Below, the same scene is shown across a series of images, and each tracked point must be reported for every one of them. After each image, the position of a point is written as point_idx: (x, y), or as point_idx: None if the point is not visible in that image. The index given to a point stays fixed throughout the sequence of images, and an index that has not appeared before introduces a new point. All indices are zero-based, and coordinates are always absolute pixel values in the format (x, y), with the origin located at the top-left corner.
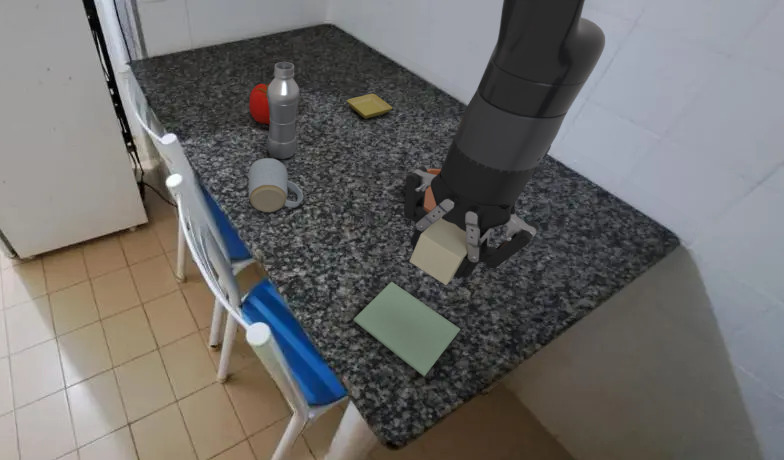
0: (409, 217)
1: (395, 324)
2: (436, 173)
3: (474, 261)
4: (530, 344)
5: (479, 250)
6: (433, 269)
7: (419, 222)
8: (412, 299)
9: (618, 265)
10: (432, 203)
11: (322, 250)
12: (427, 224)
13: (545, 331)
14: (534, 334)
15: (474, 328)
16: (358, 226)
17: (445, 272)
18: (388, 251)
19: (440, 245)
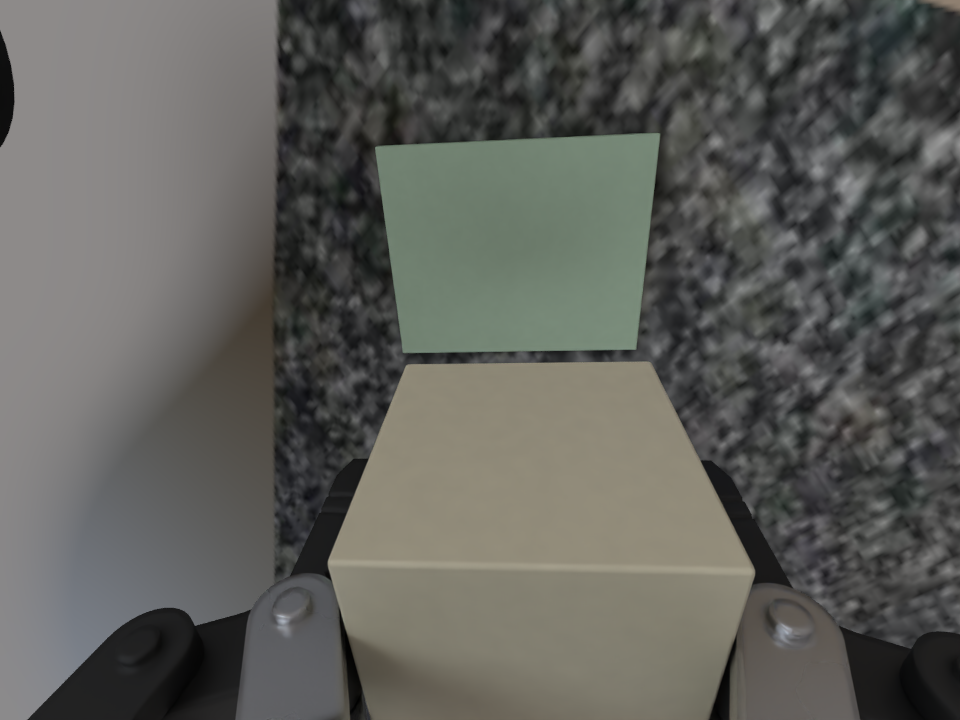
0: (943, 659)
1: (540, 227)
2: None
3: (282, 587)
4: (280, 431)
5: (236, 717)
6: (502, 392)
7: (832, 664)
8: (551, 340)
9: None
10: None
11: (907, 289)
12: (766, 695)
13: (283, 480)
14: (291, 459)
15: (384, 381)
16: (832, 447)
17: (426, 412)
18: (700, 431)
19: (537, 570)
